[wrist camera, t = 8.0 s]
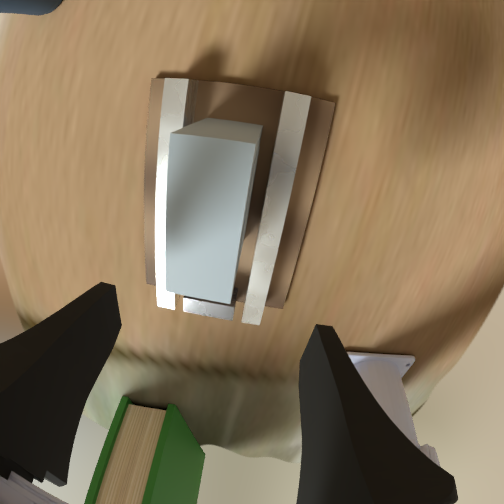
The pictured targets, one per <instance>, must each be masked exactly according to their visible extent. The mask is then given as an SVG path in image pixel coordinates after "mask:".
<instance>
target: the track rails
mask: <svg viewBox="0 0 504 504" xmlns="http://www.w3.org/2000/svg"><path fill="white" fill-rule="evenodd" d="M198 84H199V80H193V79H180V78H165V81H164V89H163V97H162V107H161V117H160V128H159V141H158V156H157V175H156V209H155V249H156V283H157V302H158V306H161V307H165V308H170V309H175V307H176V305H177V302H178V300H179V298H180V294H175V293H170V292H165V213H166V187H167V169H168V154H169V142H170V133H172V132H174V131H176V130H179V129H181V128H183V127H186V126H188V125H190V124H193V122H194V114H195V106H196V99H197V91H198ZM310 101H311V96H308V95H303V94H298V93H293V92H288V91H284V95H283V100H282V105H281V111H280V116H279V121H278V127H277V132H276V138H275V143H274V148H273V154H272V159H271V164H270V170H269V175H268V180H267V186H266V191H265V196H264V202H263V207H262V212H261V218H260V223H259V228H258V233H257V239H256V244H255V249H254V255H253V260H252V265H251V271H250V276H249V281H248V286H247V292H246V297H245V302H244V309H243V316H242V322H243V323H249V324H255V325H260V322H261V318H262V314H263V310H264V306H265V302H266V298H267V294H268V290H269V285H270V281H271V277H272V273H273V269H274V265H275V260H276V256H277V252H278V248H279V243H280V239H281V235H282V231H283V226H284V222H285V217H286V213H287V209H288V204H289V200H290V195H291V191H292V186H293V182H294V177H295V173H296V168H297V163H298V159H299V154H300V149H301V145H302V140H303V135H304V130H305V125H306V120H307V116H308V111H309V106H310ZM237 292H238V288H235V287H234V288H233V293H232V298H231V303H230V304H227V303H221V302H216V301H210V300H205V299H200V298H195V297H190V296H185V295H184V298H183V311H184V312H189V313H194V314H199V315H204V316H210V317H215V318H220V319H226V320H231V321H232V320H233V315H234V309H235V304H236V298H237Z"/></svg>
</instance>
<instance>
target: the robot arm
mask: <svg viewBox="0 0 504 504" xmlns="http://www.w3.org/2000/svg"><path fill="white" fill-rule="evenodd" d="M121 326H122V324H121V318H120V313H119V307H118V301H117V294H116V287H115V285H111V284H107V283H104V282H100V283H99V284H97V285H95V286H94V287H92V288H91V289H89V290H88V291H86V292H85V293H84V294H82V295H81V296H79V297H78V298H76V299H75V300H73V301H72V302H70V303H69V304H68V305H66V306H65V307H63V308H62V309H60V310H59V311H57V312H56V313H54V314H53V315H51V316H50V317H48V318H46V319H45V320H43V321H42V322H40V323H39V324H37V325H35V326H34V327H32V328H30V329H29V330H27V331H25V332H23V333H21V334H19V335H17V336H16V337H14V338H12V339H10V340H7V341H5V342H3V343H0V504H68V503H66V502H64V501H62V500H60V499H58V498H56V497H54V496H53V495H51V494H49V493H47V492H45V491H44V490H42V489H40V488H39V487H37V486H35V485H34V484H32V482H33V479H36V480H38V481H39V482H41V483H42V482H43V480H44V479H46V480H48V481H50V482H52V483H53V484H55V485H57V486H59V487H60V486H64V485H66V484H67V478H68V470H69V462H70V457H71V452H72V448H73V443H74V439H75V435H76V432H77V428H78V425H79V421H80V418H81V415H82V412H83V409H84V406H85V403H86V401H87V398H88V396H89V394H90V392H91V390H92V388H93V386H94V384H95V382H96V380H97V378H98V376H99V374H100V372H101V370H102V368H103V366H104V364H105V363H106V361H107V359H108V357H109V355H110V353H111V351H112V349H113V347H114V344H115V342H116V339H117V337H118V334H119V331H120V329H121ZM414 362H415V357H414V356H412V355H389V354H372V353H359V352H347V351H346V350H345V348H344V346H343V344H342V343H341V341H340V339H339V337H338V335H337V333H336V332H335V330H334V328H333V327H332V326H326V325H318V324H316V325H315V328H314V330H313V332H312V335H311V337H310V339H309V342H308V344H307V346H306V348H305V351H304V353H303V355H302V357H301V360H300V370H299V398H300V413H301V429H302V457H301V470H300V481H299V489H298V497H297V503H296V504H454V503H455V502H456V501H457V500H458V495H457V490H456V484H455V480H454V477H453V476H452V475H451V474H449V473H448V472H447V471H445V470H444V469H442V468H441V467H440V464H439V460H438V456H437V453H436V450H435V448H434V447H431V446H429V445H428V444H425V445H423V446H420V445H419V443H418V441H417V437H416V432H415V428H414V424H413V420H412V416H411V412H410V408H409V404H408V400H407V397H406V393H405V390H404V386H403V383H402V379H401V378H402V377H403V376H404V374H405V373H406V372H407V371H408V369H409V368H410V367H411V366H412V364H413V363H414Z"/></svg>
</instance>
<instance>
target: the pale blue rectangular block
mask: <svg viewBox="0 0 504 504" xmlns="http://www.w3.org/2000/svg"><path fill="white" fill-rule="evenodd" d="M262 128H263V125H257V124H251V123H245V122H238V121H231V120H223V119H215V118H205V119H203V120H200V121H198V122H195V123H193V124H190V125H188V126H186V127H183V128H181V129H179V130H176V131H174V132H172V133H170V142H169V154H168V169H167V187H166V213H165V292H170V293H175V294H180V295H185V296H190V297H195V298H200V299H205V300H210V301H216V302H221V303H227V304H230V303H231V298H232V293H233V288H234V283H235V278H236V273H237V270H238V265H239V260H240V255H241V251H242V246H243V241H244V236H245V231H246V225H247V219H248V213H249V207H250V201H251V195H252V189H253V183H254V178H255V172H256V166H257V160H258V154H259V149H260V146H259V145H260V139H261V134H262Z"/></svg>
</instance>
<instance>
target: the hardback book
mask: <svg viewBox="0 0 504 504" xmlns="http://www.w3.org/2000/svg"><path fill="white" fill-rule="evenodd" d="M204 459H205V453H204V452H203V450H202V449H201V447H200V445H199V444H198V442H197V441H196V439H195V437H194V436H193V434H192V432H191V431H190V429H189V427H188V426H187V424H186V422H185V421H184V419H183V417H182V415H181V414H180V412H179V410H178V408H177V406H176V405H174V404H168V407H167V410H160V409H153V408H147V407H142V406H136V405H134V404H133V403H132V402H131V400H130V399H129V397H124V396H122V398H121V401H120V403H119V406H118V408H117V411H116V413H115V416H114V419H113V421H112V424H111V426H110V429H109V432H108V435H107V437H106V440H105V443H104V446H103V448H102V451H101V454H100V457H99V460H98V463H97V465H96V468H95V471H94V475H93V477H92V481H91V483H90V487H89V490H88V493H87V496H86V499H85V503H84V504H197V498H198V493H199V487H200V482H201V476H202V470H203V464H204Z"/></svg>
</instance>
